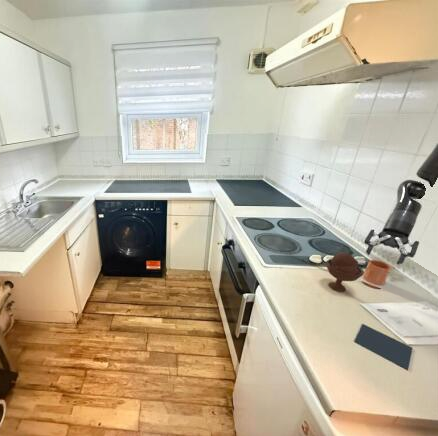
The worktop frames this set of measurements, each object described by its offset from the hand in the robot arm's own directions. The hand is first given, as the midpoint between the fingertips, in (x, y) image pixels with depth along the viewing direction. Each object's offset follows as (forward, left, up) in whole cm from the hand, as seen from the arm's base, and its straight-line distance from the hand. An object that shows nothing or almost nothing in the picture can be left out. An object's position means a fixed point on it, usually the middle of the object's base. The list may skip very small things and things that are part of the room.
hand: (382, 258), depth 91 cm
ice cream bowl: (+8, +17, -10) cm, 21 cm away
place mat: (-8, +37, -10) cm, 39 cm away
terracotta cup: (0, +4, -10) cm, 11 cm away
